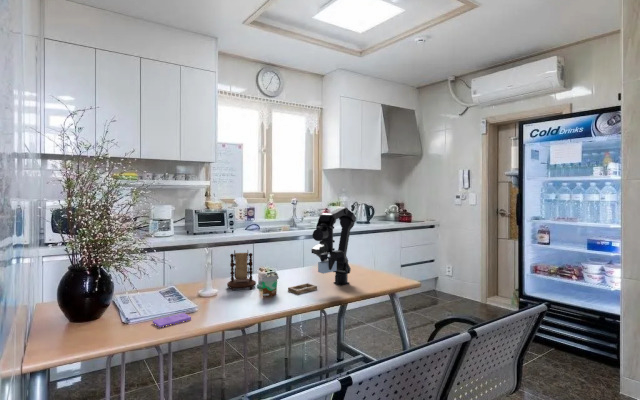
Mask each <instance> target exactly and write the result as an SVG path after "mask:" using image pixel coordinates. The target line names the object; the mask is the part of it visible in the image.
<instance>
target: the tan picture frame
mask: <svg viewBox="0 0 640 400" xmlns="http://www.w3.org/2000/svg"><path fill="white" fill-rule="evenodd" d="M317 290H318V285H315V284H313V283H312V284H311V283H309V282H308V283H301V284H298V285H294V286H289V287H287V291H288V292H290V293H292V294H295V295H301V294H304V293H308V292H312V291H317Z"/></svg>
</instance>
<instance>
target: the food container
mask: <svg viewBox="0 0 640 400" xmlns="http://www.w3.org/2000/svg"><path fill="white" fill-rule="evenodd" d="M278 280H279V274H278V272H275V271H269V273H268V274H267V275H265V276H262V277H261V286H262V298H270V297H275V296H277V291H278V290H277V288H278Z"/></svg>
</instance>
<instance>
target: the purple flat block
mask: <svg viewBox="0 0 640 400" xmlns="http://www.w3.org/2000/svg"><path fill="white" fill-rule="evenodd" d="M187 320H190V321H192V316H191V315H189V314H186V313H185V312H182V313H177V314H174V315H170V316H165V317H160V318H157V319H153V320H152V324H153V323H154V324H156V325H157V326H159V327H163V326H166V325H170V324H174V325H176V324H175V323H178V324H180V323H179V322H182V323H184V322H183V321H186V322H188V321H187ZM154 324H153V325H154ZM156 325H155V326H156ZM157 326H156V327H157ZM159 327H158V328H159ZM163 328H164V327H163Z"/></svg>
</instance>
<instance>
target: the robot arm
mask: <svg viewBox="0 0 640 400" xmlns="http://www.w3.org/2000/svg"><path fill="white" fill-rule="evenodd" d="M337 220H339V224H340V228H341V230H340V235H339V243H338V248H337V250H336V249H335V248H334V243H335V239H334V229H335V224H336V222H337ZM356 220H357V217H356V215H355V213H354V212H352V211H351V210H350V209H348V207H346V206H339V207H337V208H336V209H334V210H332V211H330V212H323V213H321V214H320V215H319V218H318V220H317V223H316V226H315V227H316V228H315V229H314V230H313V232H312V238H313V239H314V241H316V242H319V244H316V245H314V246H313V247H312V248H311V254H313V255H316V257H318V258H319V259H320V262H323V261H324V260H327V259H328V260H329V270H331V269H332V267H333V265H334V263H335V261H337V271H333V272H332V273H335V275H334V282H333V284H335V285H339V286H344V285H349V284H350V282H349V281H348V278H349V277H348V274H351V270H352V269H351V267H350V265H349V260H348V259H349V258H348V256H347V252H348V246H349V241H350V235H351V230H352V229H353V227H354V226H355V223H356Z"/></svg>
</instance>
